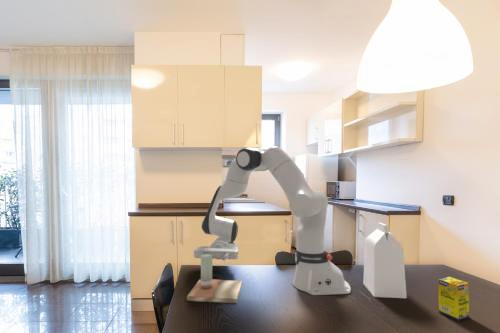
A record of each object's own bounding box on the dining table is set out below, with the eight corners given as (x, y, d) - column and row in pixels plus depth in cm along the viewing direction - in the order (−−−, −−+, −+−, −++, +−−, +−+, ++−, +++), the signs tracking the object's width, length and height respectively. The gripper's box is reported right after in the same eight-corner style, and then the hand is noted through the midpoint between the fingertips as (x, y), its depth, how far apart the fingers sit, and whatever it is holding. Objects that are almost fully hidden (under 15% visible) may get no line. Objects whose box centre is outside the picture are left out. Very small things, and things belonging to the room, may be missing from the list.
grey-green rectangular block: (213, 284, 103) (213, 254, 104) (210, 289, 99) (210, 257, 99) (202, 284, 103) (202, 253, 104) (199, 289, 99) (199, 257, 100)
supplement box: (459, 321, 80) (457, 285, 81) (438, 312, 86) (437, 278, 86) (470, 317, 83) (469, 282, 83) (449, 309, 88) (448, 276, 89)
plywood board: (242, 284, 108) (242, 280, 108) (236, 303, 92) (236, 298, 92) (199, 282, 109) (199, 278, 109) (186, 300, 93) (187, 295, 94)
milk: (363, 283, 109) (362, 221, 110) (392, 284, 108) (390, 221, 109) (374, 296, 97) (372, 226, 98) (406, 298, 96) (405, 227, 97)
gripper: (198, 242, 127) (189, 249, 113) (240, 243, 125) (236, 251, 111) (198, 255, 126) (189, 264, 113) (240, 256, 125) (235, 266, 111)
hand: (212, 258), depth 112 cm, fingers open, 8 cm apart
